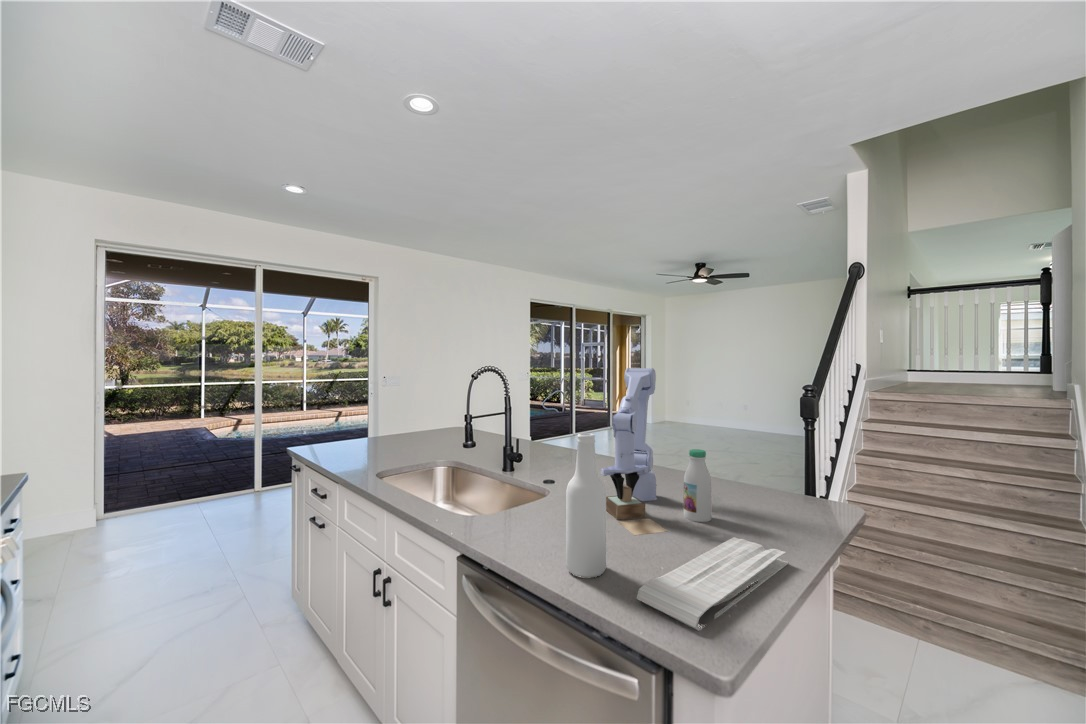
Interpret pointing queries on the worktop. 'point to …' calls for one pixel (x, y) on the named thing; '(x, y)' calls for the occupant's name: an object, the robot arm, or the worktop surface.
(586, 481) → the alcohol
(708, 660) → the worktop surface
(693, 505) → the milk bottle
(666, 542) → the worktop surface
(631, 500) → the lid
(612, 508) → the box
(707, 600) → the hand towel
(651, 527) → the mat
